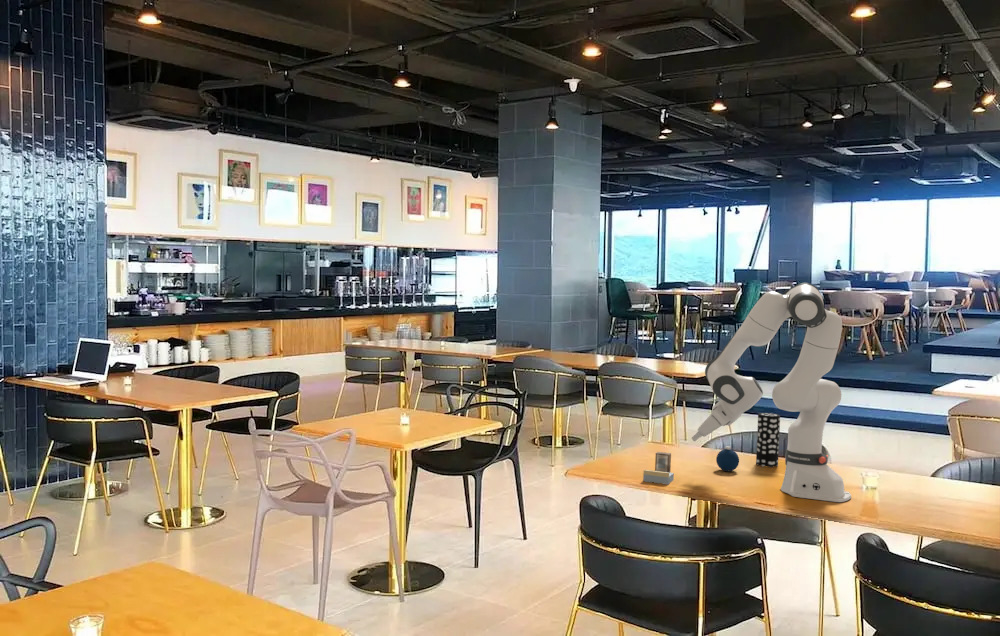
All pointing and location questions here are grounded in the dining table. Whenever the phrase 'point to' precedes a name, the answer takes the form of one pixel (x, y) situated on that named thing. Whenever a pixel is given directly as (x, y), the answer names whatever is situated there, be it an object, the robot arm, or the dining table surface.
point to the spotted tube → (768, 439)
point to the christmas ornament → (727, 459)
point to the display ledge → (658, 476)
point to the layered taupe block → (663, 462)
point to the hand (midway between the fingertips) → (695, 437)
